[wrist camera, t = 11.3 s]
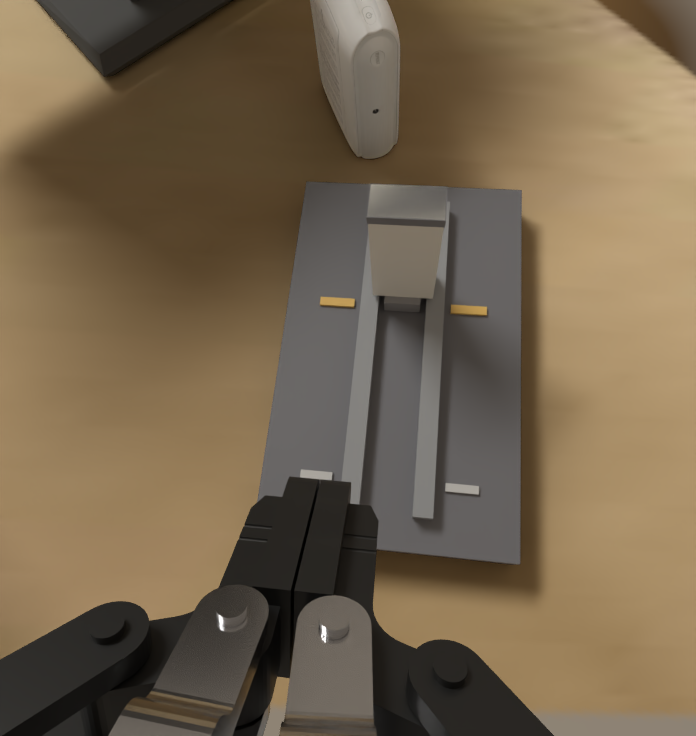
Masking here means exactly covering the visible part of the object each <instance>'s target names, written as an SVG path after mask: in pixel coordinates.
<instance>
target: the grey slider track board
mask: <svg viewBox="0 0 696 736" xmlns="http://www.w3.org/2000/svg"><path fill="white" fill-rule="evenodd" d="M369 188H370V184H355V183H330V182H306V188H305V195H304V201H303V208H302V214H301V221H300V227H299V234H298V240H297V247H296V253H295V260H294V266H293V273H292V279H291V286H290V292H289V299H288V305H287V312H286V318H285V325H284V331H283V338H282V344H281V351H280V357H279V364H278V370H277V377H276V383H275V390H274V396H273V403H272V409H271V416H270V422H269V429H268V435H267V442H266V448H265V455H264V461H263V468H262V474H261V481H260V487H259V494H258V500H257V502H258V501H259V500H261V499H262V498H263V497H264V496H265V495H268V496H278V497H282V496H283V493H284V490H285V487H286V484H287V481H288V478H289V477H290V476H291V477H301V478H312V479H319V480H320V482H321V480H322V479H323V480H334V481H344V482H351V500H350V504H360V505H370V506H371V507H372V509H373V511H374V513H375V515H376V517H377V519H378V520H379V523H378V537H377V550H381V551H391V552H400V553H409V554H418V555H428V556H437V557H446V558H456V559H465V560H474V561H483V562H493V563H502V564H511V565H514V564H520V487H521V211H522V190H505V189H480V188H455V187H448V193H447V211H446V224H445V228H444V230H443V236H442V243H441V249H440V256H439V262H438V269H437V275H436V282H435V288H434V295H433V299H428V298H421V302H420V312H419V313H418V312H402V311H386V310H384V299H385V296H378V295H373V290H372V276H371V261H370V247H369V232H368V224H367V219H366V216H367V207H368V197H369Z"/></svg>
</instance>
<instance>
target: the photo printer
mask: <svg viewBox="0 0 696 736" xmlns="http://www.w3.org/2000/svg"><path fill="white" fill-rule="evenodd" d="M310 4H311V11H312V18H313V25H314V33H315V40H316V47H317V54H318V62H319V69H320V76H321V81H322V84H323V87H324V90H325V93H326V95H327V98H328V100H329V102H330V105H331V107H332V109H333V112H334V114H335V116H336V118H337V121H338V123H339V125H340V127H341V129H342V131H343V133H344V136H345V138H346V140H347V141H348V143H349V145H350V147H351V149H352V150H353V152H354V153H355V155H356V156H357V157H360V156H362V157H363V158H365V159H374V158H379V157H381V156H384V155H385V154H387V153H388V152H389V151H390V150H391V149H392V147H393V145H395V144H397V141H398V126H399V90H400V40H399V34H398V29H397V26H396V23H395V20H394V17H393V14H392V11H391V9H390V6H389V4H388V2H387V0H310Z"/></svg>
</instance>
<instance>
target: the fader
mask: <svg viewBox="0 0 696 736" xmlns="http://www.w3.org/2000/svg"><path fill="white" fill-rule="evenodd" d="M447 193H448V187H444V186H419V185H394V184H370V188H369V197H368V207H367V216H366V219H367V224H368V232H369V247H370V261H371V276H372V290H373V295H378V296H385V299H384V310H386V311H402V312H418V313H419V312H420V302H421V298H428V299H433V295H434V288H435V282H436V275H437V269H438V262H439V256H440V249H441V243H442V236H443V230H444V228H445V224H446V211H447Z"/></svg>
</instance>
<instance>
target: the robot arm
mask: <svg viewBox="0 0 696 736" xmlns="http://www.w3.org/2000/svg"><path fill="white" fill-rule="evenodd" d="M350 500H351V482H344V481H334V480H323V479H322V480H321V482H320V480H319V479H312V478H301V477H291V476H290V477H289V478H288V481H287V484H286V487H285V490H284V493H283V496H282V497H278V496H268V495H265V496H264V497H263V498H262V499H261V500H259V501H258V502H257V503H256V504H255V505H254V506H253V507H252V508H251V510H250V512H249V514H248V517H247V519H246V522H245V526H244V527H243V529H242V532H241V534H240V538H239V540H238V541H237V544H236V546H235V549H234V551H233V554H232V556H231V559H230V561H229V564H228V566H227V569H226V571H225V573H224V576H223V578H222V581H221V583H220V586H219V588H218V589H215V590H213V591H212V592H210V593H208V594H207V595H206V596H205V597H204V598H203V599H202V600H201V601H200V602H199V604H198V605H197V607H196V609H195V611H193V612H190V613H188V614H185V615H181V616H176V617H171V618H164V619H158V620H152V621H149V618H148V615H147V613H146V612H145V610H144V609H142V608H141V607H140V606H138V605H136V604H134V603H131V602H123V601H118V602H110V603H106V604H103V605H100V606H97V607H95V608H93V609H91V610H89V611H87V612H86V613H84V614H82V615H80V616H78V617H77V618H75V619H73V620H71V621H69V622H68V623H66V624H64V625H62V626H60V627H59V628H57V629H55V630H53V631H51V632H50V633H48V634H46V635H44V636H42V637H40V638H39V639H37V640H35V641H33V642H31V643H30V644H28V645H26V646H24V647H22V648H21V649H19V650H17V651H15V652H13V653H12V654H10V655H8V656H6V657H4V658H3V659H1V660H0V736H263V734H264V730H265V727H266V724H267V721H268V717H269V713H270V702H271V699H272V696H273V691H274V687H275V683H276V679H277V677H286V678H290V681H289V688H288V696H287V704H286V712H285V719H284V722H282V724H281V728H280V734H279V736H554V735H553V734H552V733H551V732H550V731H549V730H548V729H547V728H546V727H545V726H544V725H543V724H542V723H541V722H540V720H539V719H538V718H537V717H536V716H535V715H534V714H533V713H532V712H531V711H530V710H529V709H528V708H527V707H526V706H525V705H524V704H523V703H522V701H521V700H520V699H519V698H518V697H517V696H516V695H515V694H514V693H513V692H512V691H511V690H510V689H509V688H508V687H507V686H506V685H505V684H504V682H503V681H502V680H501V679H500V678H499V677H498V676H497V675H496V674H495V673H494V672H493V671H492V670H491V669H490V668H489V667H488V666H487V665H486V663H485V662H484V661H483V660H482V659H481V658H480V657H479V656H478V655H477V654H476V653H475V652H474V651H472V650H471V649H469V648H468V647H466V646H464V645H462V644H460V643H457V642H455V641H450V640H433V641H429V642H426V643H424V644H422V645H421V646H419V647H418V648H417V649H415V648H413V647H411V646H408V645H406V644H404V643H401V642H399V641H397V640H395V639H394V638H392V637H391V636H389V635H388V634H387V633H386V632H385V631H384V630H383V629H382V628H381V627H380V626H379V624H378V622H377V621H376V618H375V616H374V612H373V593H374V579H375V565H376V551H377V537H378V523H379V520H378V519H377V517H376V515H375V513H374V511H373V509H372V507H371V506H370V505H360V504H350Z"/></svg>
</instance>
